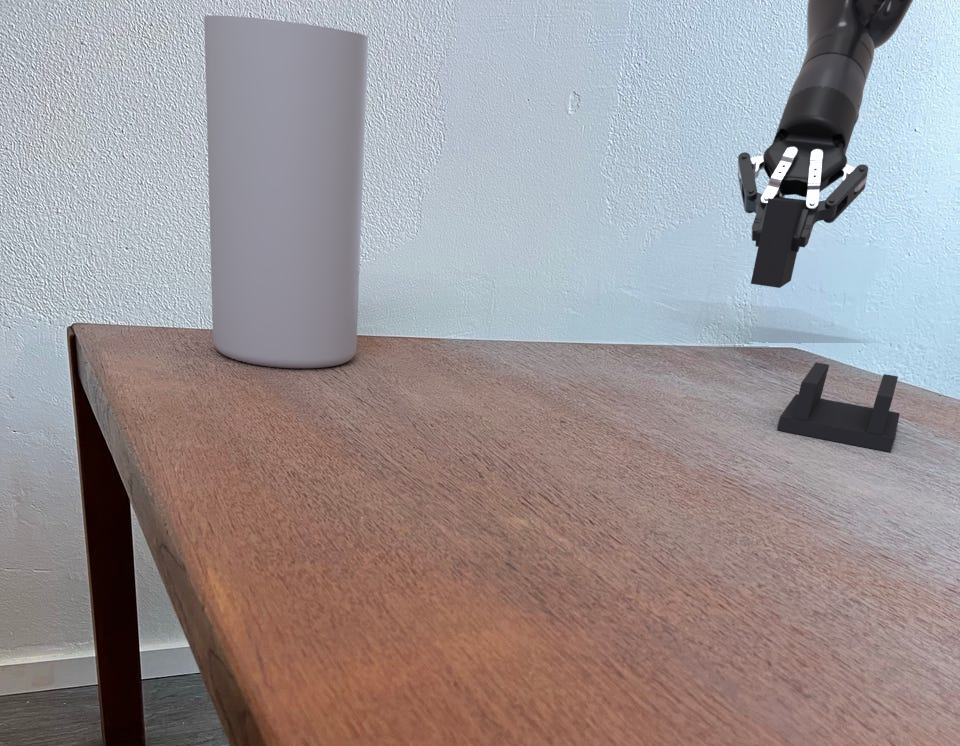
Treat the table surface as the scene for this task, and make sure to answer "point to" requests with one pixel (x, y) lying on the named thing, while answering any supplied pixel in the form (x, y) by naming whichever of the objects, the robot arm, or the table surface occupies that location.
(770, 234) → the block
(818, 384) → the base pad
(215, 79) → the cylinder vase
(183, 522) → the table surface
